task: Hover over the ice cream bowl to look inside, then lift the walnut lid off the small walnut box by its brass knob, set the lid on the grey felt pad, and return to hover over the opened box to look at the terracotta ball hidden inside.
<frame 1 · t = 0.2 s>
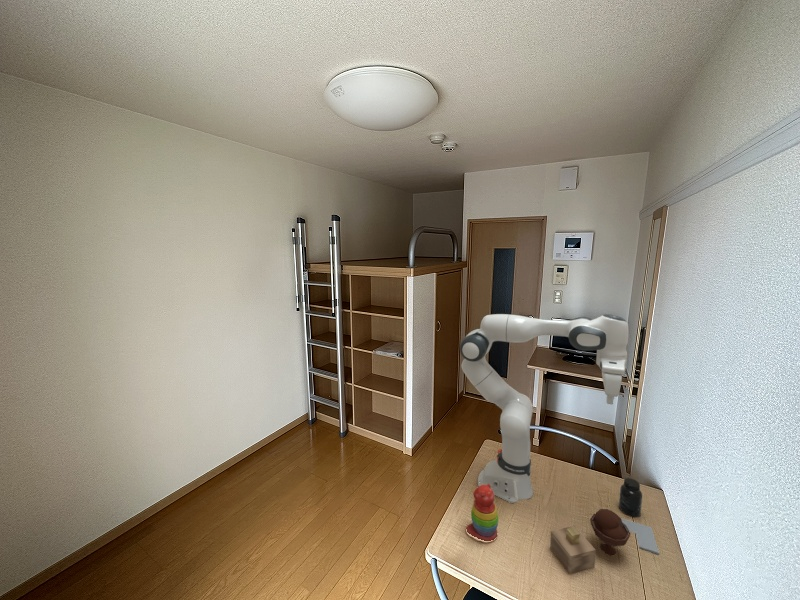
hand: (608, 397, 113), 47 cm above the table, tool pointing down, fingers open, 8 cm apart
felt pad: (635, 534, 111), on the table
ice cream bowl: (607, 551, 105), on the table
stacking bear: (483, 532, 114), on the table
lid: (572, 543, 102), point 6 cm above the table, touching walnut box
supplement bottle: (629, 510, 122), on the table
walnut box: (571, 559, 103), on the table
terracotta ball: (571, 557, 103), point 1 cm above the table, touching walnut box
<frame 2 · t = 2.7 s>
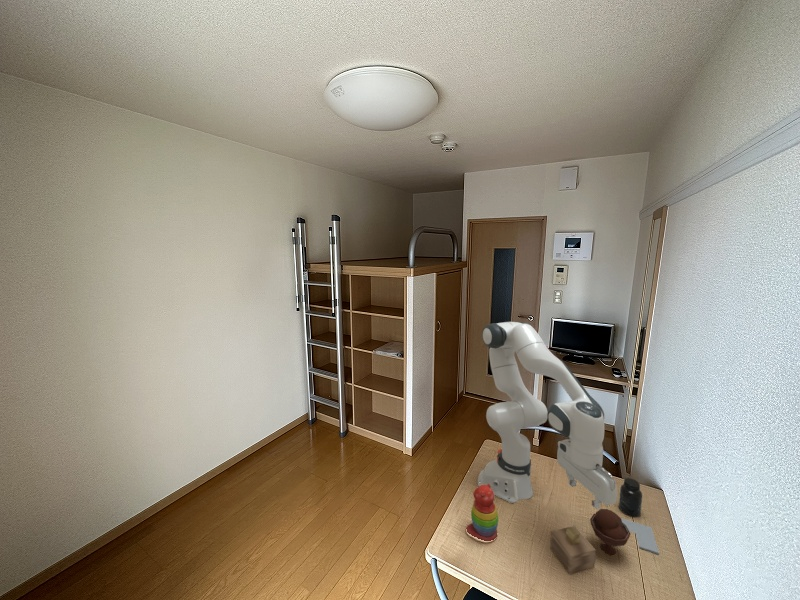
hand: (583, 495, 100), 23 cm above the table, tool pointing down, fingers open, 8 cm apart
nothing on the table moved.
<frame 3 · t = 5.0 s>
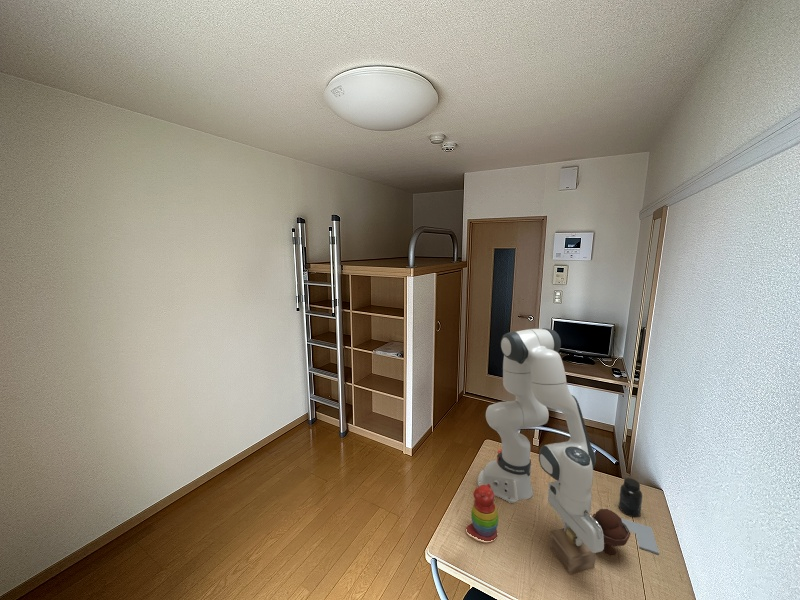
hand: (572, 538, 102), 8 cm above the table, tool pointing down, fingers closed on lid, 3 cm apart
lid: (572, 543, 102), point 6 cm above the table, touching gripper, walnut box
everything else where it was.
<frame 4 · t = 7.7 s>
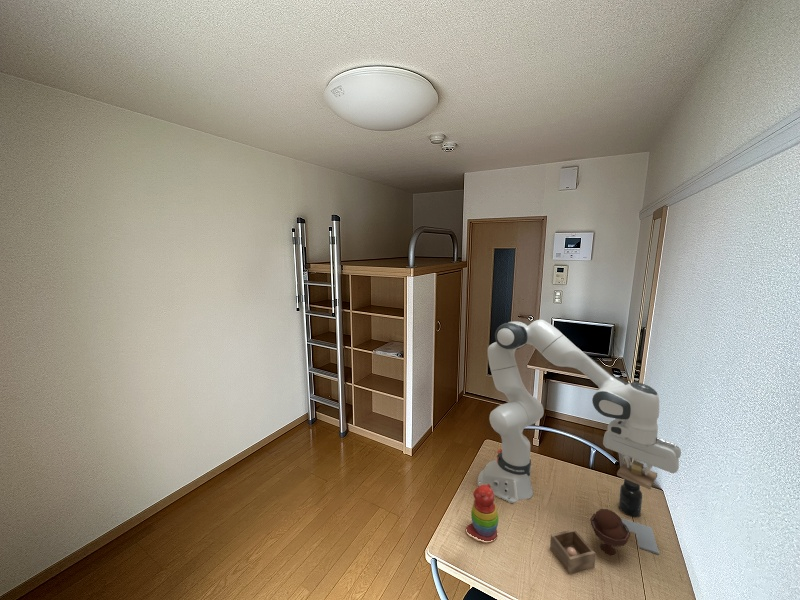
hand: (637, 470, 107), 26 cm above the table, tool pointing down, fingers closed on lid, 3 cm apart
lid: (636, 475, 107), point 24 cm above the table, touching gripper
everything else where it was.
when the fingers open (4 cm above the table, at t = 10.7 s): lid drops 2 cm, resting on felt pad.
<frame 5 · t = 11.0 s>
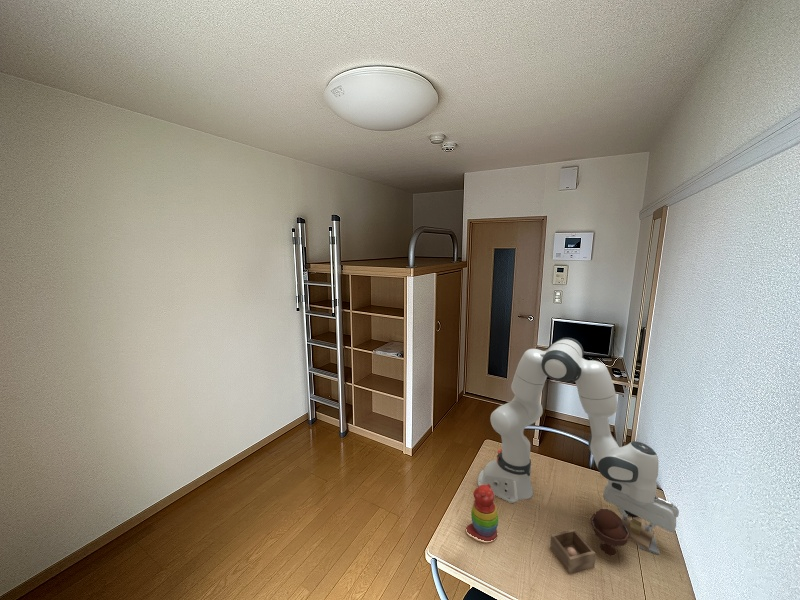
hand: (636, 524, 111), 4 cm above the table, tool pointing down, fingers open, 5 cm apart
lid: (635, 533, 111), point 1 cm above the table, touching felt pad
everything else where it was.
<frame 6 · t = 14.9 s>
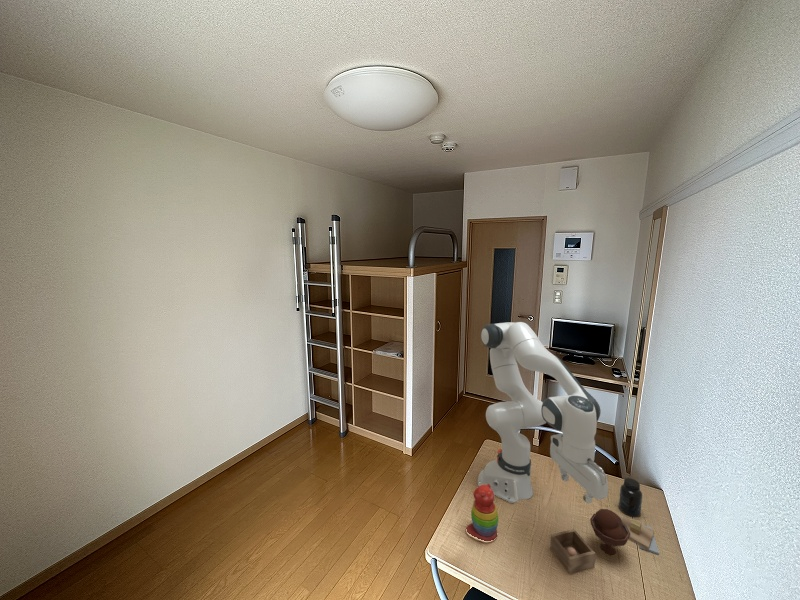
hand: (575, 490, 99), 25 cm above the table, tool pointing down, fingers open, 8 cm apart
nothing on the table moved.
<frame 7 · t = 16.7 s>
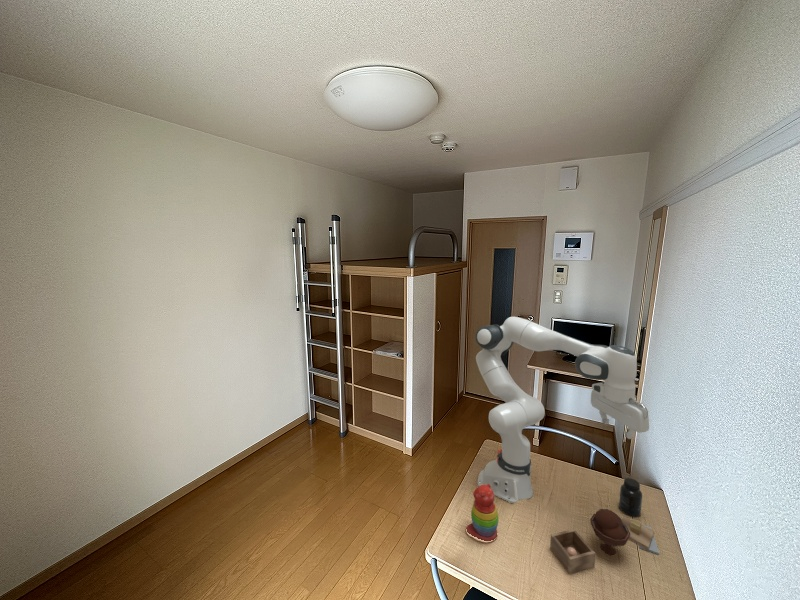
hand: (616, 430, 111), 37 cm above the table, tool pointing down, fingers open, 8 cm apart
nothing on the table moved.
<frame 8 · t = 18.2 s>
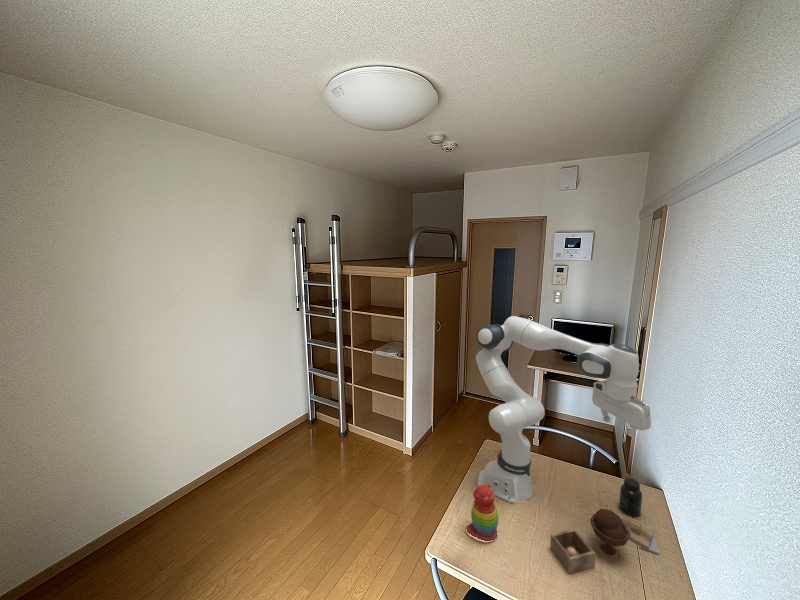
hand: (617, 428, 112), 37 cm above the table, tool pointing down, fingers open, 8 cm apart
nothing on the table moved.
at the end: lid inside the target area on the felt pad (0.1 cm from its centre), point 0.6 cm above the felt pad's base; lid tilted 0°; lid touching felt pad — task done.
